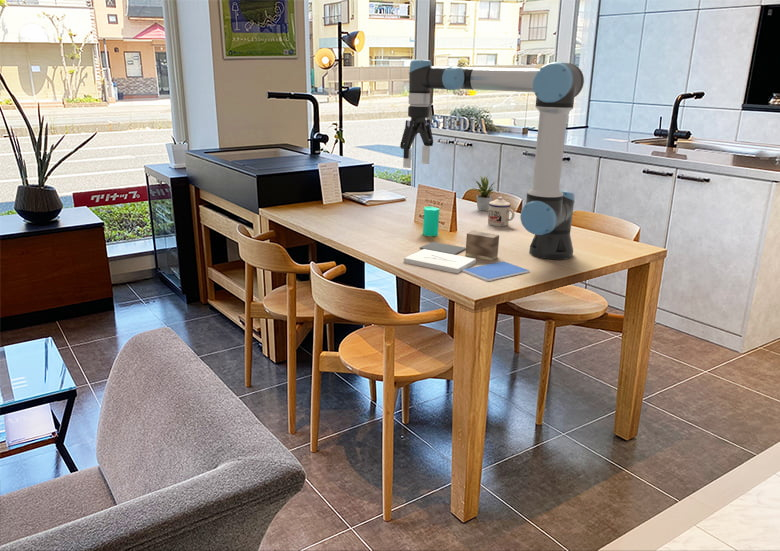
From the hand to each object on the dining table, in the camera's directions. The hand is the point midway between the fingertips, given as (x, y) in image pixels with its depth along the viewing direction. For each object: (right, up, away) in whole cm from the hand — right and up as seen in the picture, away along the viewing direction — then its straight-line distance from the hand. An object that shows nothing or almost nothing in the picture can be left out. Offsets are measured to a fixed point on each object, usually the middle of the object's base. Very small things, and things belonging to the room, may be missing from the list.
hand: (416, 165), depth 232 cm
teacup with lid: (+37, -19, +36) cm, 55 cm away
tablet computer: (+25, -40, -27) cm, 54 cm away
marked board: (+7, -36, -19) cm, 41 cm away
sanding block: (+22, -34, -10) cm, 42 cm away
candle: (+6, -24, +17) cm, 30 cm away
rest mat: (+10, -31, -3) cm, 32 cm away
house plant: (+33, -9, +66) cm, 74 cm away
